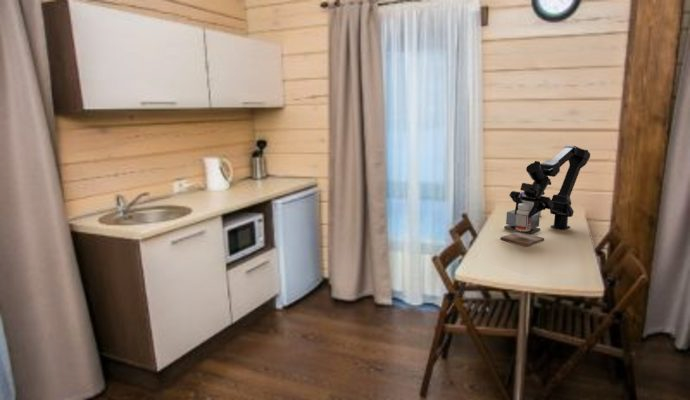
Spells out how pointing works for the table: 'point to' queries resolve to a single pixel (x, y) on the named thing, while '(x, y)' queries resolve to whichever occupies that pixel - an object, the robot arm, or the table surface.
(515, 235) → the plate
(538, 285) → the table surface
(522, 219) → the pill bottle
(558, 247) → the table surface
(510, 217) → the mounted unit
